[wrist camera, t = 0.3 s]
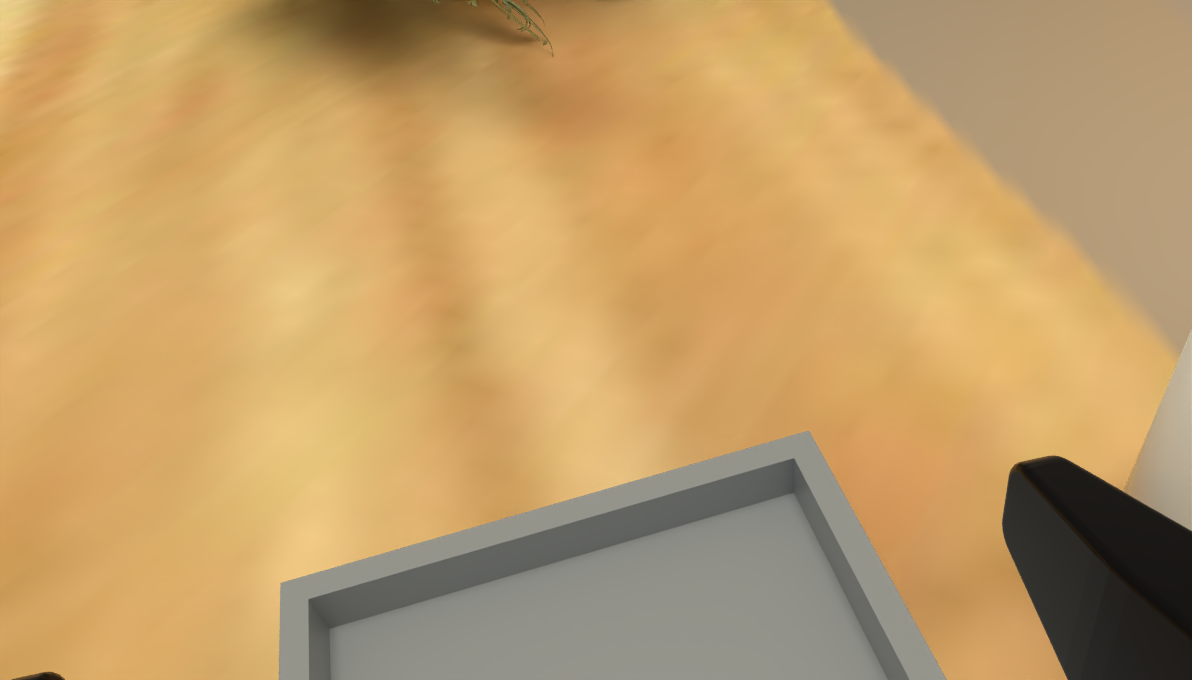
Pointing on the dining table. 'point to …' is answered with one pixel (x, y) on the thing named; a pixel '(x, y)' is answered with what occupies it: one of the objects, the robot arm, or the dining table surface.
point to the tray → (626, 589)
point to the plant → (523, 13)
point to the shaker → (1169, 450)
